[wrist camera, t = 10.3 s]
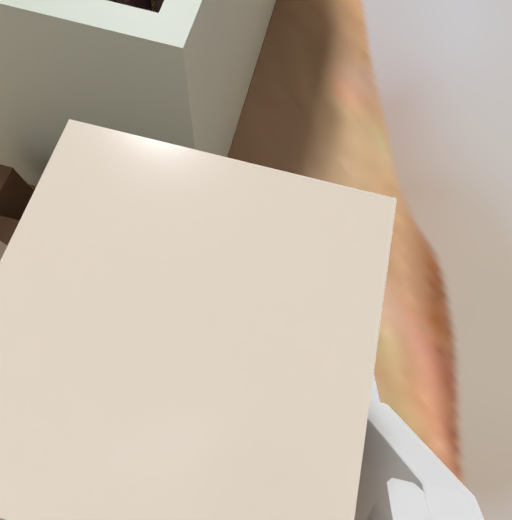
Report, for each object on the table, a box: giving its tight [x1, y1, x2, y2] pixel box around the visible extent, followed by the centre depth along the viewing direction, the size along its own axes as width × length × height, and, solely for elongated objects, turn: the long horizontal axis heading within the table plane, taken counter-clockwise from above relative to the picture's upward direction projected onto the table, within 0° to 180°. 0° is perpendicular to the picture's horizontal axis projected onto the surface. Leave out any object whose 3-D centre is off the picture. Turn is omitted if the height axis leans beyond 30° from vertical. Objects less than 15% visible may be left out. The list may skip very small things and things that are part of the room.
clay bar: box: [0, 119, 397, 520], centre depth 10 cm, size 4×4×12 cm
